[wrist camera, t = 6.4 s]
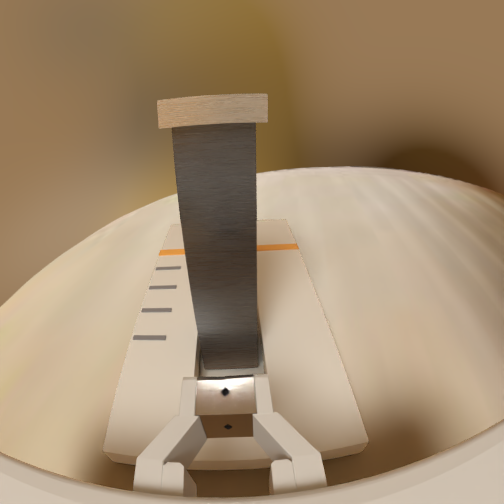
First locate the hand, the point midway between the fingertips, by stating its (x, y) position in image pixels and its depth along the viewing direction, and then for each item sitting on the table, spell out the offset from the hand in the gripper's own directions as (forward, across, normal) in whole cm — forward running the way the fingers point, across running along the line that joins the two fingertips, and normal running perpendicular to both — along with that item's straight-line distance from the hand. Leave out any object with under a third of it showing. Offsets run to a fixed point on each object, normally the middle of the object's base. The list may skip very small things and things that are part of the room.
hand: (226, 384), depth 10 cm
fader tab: (+8, 0, +7) cm, 11 cm away
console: (+13, 0, +7) cm, 15 cm away
